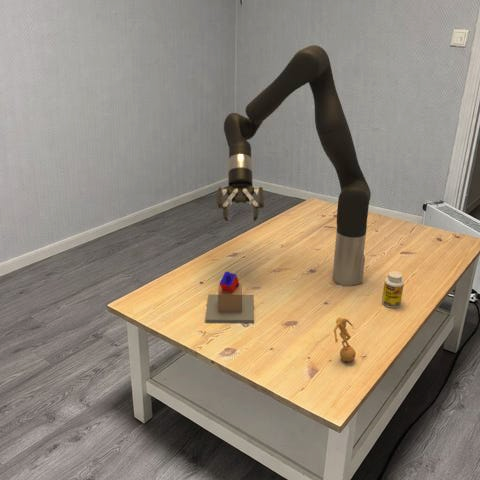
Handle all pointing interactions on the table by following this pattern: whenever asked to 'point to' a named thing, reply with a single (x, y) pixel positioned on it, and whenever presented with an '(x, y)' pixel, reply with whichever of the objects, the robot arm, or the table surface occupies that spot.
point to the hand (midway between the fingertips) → (240, 219)
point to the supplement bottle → (393, 290)
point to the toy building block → (229, 282)
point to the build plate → (230, 316)
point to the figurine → (347, 351)
